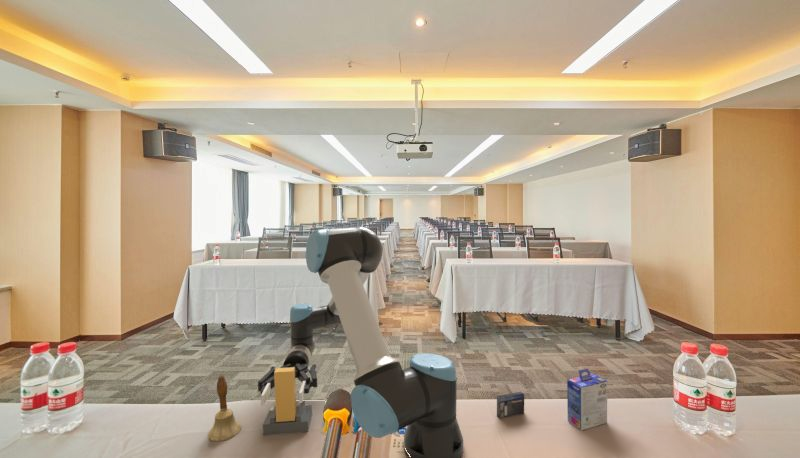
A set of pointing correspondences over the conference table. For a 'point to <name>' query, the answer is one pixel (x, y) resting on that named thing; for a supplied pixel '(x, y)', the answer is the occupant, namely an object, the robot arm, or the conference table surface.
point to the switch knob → (285, 394)
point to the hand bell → (223, 417)
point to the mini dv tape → (510, 404)
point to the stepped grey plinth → (288, 426)
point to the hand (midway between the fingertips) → (281, 399)
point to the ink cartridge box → (587, 400)
